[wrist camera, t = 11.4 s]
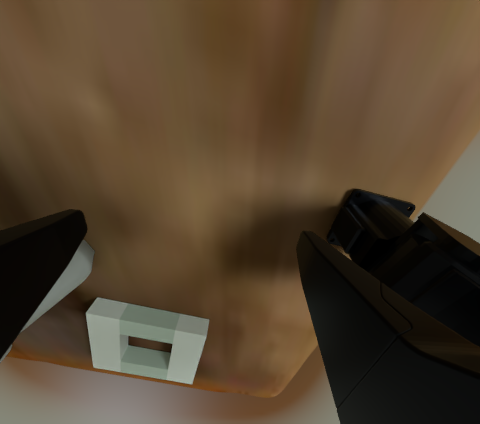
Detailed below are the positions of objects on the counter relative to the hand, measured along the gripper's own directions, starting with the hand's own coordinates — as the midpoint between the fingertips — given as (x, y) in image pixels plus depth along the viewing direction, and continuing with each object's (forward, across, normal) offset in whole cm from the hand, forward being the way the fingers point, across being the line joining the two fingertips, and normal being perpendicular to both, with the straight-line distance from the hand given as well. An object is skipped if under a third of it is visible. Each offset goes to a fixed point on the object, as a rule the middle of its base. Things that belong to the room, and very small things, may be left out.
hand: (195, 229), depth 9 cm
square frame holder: (+13, +8, +31) cm, 34 cm away
